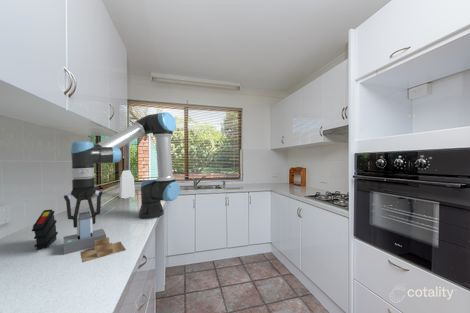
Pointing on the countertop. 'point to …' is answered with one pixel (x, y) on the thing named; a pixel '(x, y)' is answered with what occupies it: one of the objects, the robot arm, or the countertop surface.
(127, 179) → the milk
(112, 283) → the countertop surface
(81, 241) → the port box
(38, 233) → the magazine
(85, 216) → the plug
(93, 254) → the holster
